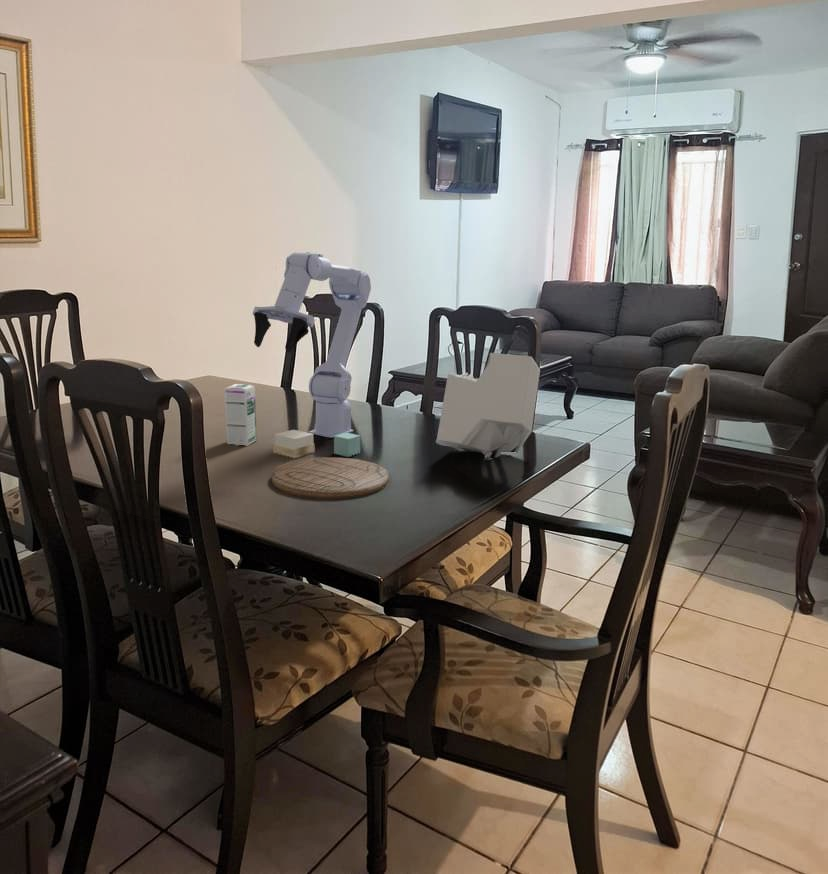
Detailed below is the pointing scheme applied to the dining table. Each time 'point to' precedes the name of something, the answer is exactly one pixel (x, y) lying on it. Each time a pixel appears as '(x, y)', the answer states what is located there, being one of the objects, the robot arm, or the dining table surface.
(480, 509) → the dining table surface
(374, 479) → the trivet
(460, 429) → the grey stepped panel block
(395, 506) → the dining table surface
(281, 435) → the tower top
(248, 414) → the syrup box
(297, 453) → the tower base
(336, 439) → the teal cube
